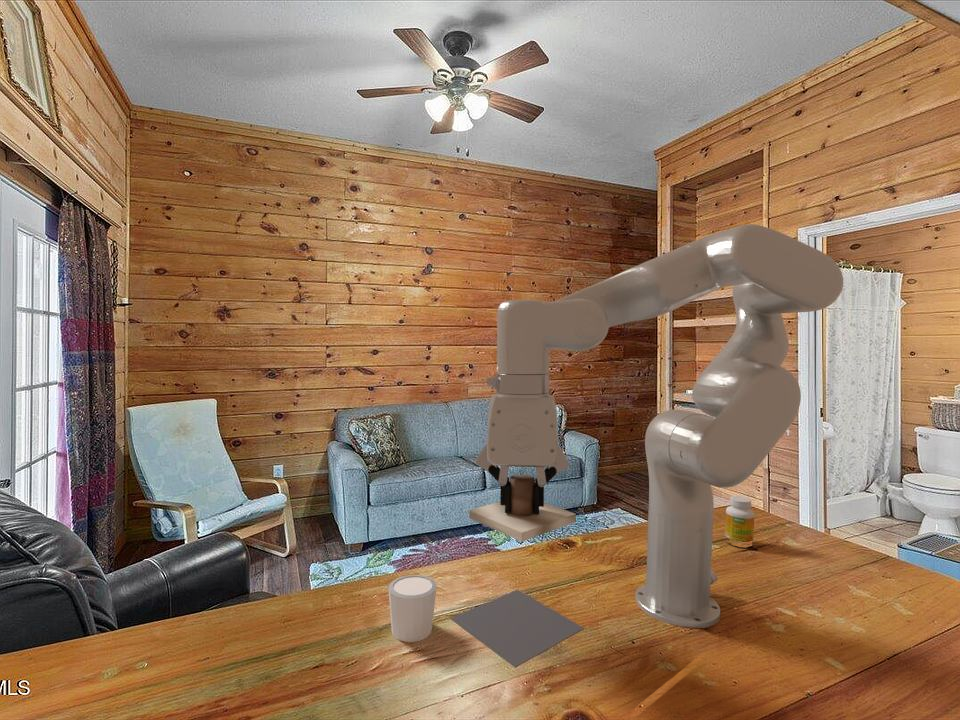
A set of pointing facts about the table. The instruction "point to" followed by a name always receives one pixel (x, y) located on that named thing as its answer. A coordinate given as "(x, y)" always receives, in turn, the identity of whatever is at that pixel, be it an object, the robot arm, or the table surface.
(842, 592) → the table surface
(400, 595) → the white cup
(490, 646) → the mat
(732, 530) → the supplement bottle
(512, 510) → the lid
